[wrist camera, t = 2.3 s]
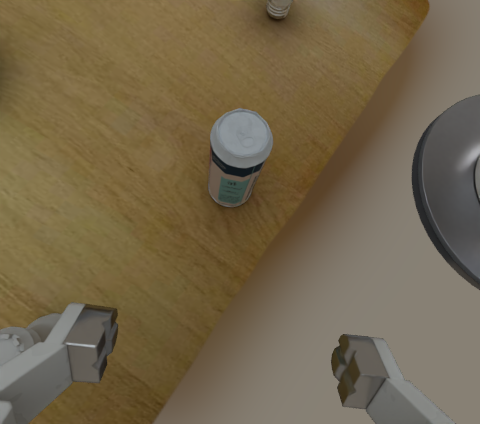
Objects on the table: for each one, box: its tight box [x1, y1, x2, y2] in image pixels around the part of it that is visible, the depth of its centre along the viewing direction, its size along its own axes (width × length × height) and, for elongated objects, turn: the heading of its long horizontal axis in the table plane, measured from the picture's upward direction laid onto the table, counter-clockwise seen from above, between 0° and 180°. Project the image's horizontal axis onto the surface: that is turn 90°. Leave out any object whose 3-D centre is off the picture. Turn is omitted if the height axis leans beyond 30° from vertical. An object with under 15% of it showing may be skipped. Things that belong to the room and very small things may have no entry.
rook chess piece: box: [0, 313, 62, 366], centre depth 25 cm, size 4×4×8 cm
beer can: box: [208, 108, 273, 207], centre depth 28 cm, size 5×5×12 cm
